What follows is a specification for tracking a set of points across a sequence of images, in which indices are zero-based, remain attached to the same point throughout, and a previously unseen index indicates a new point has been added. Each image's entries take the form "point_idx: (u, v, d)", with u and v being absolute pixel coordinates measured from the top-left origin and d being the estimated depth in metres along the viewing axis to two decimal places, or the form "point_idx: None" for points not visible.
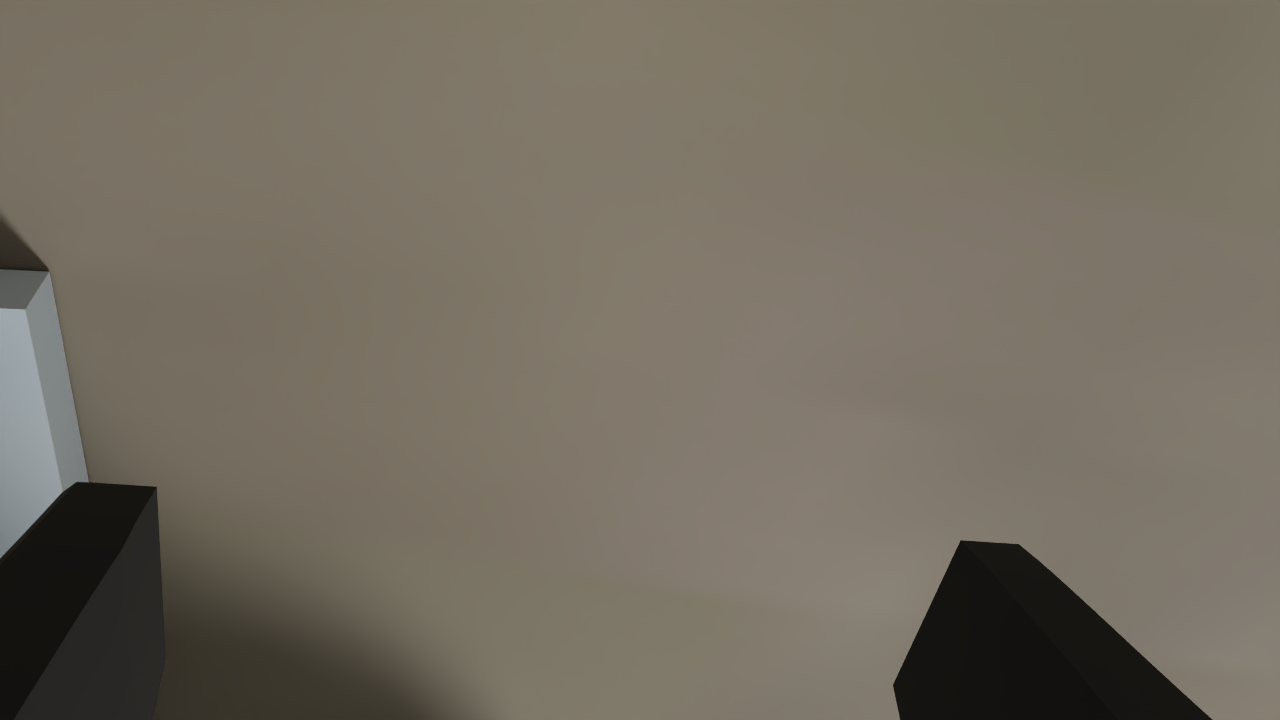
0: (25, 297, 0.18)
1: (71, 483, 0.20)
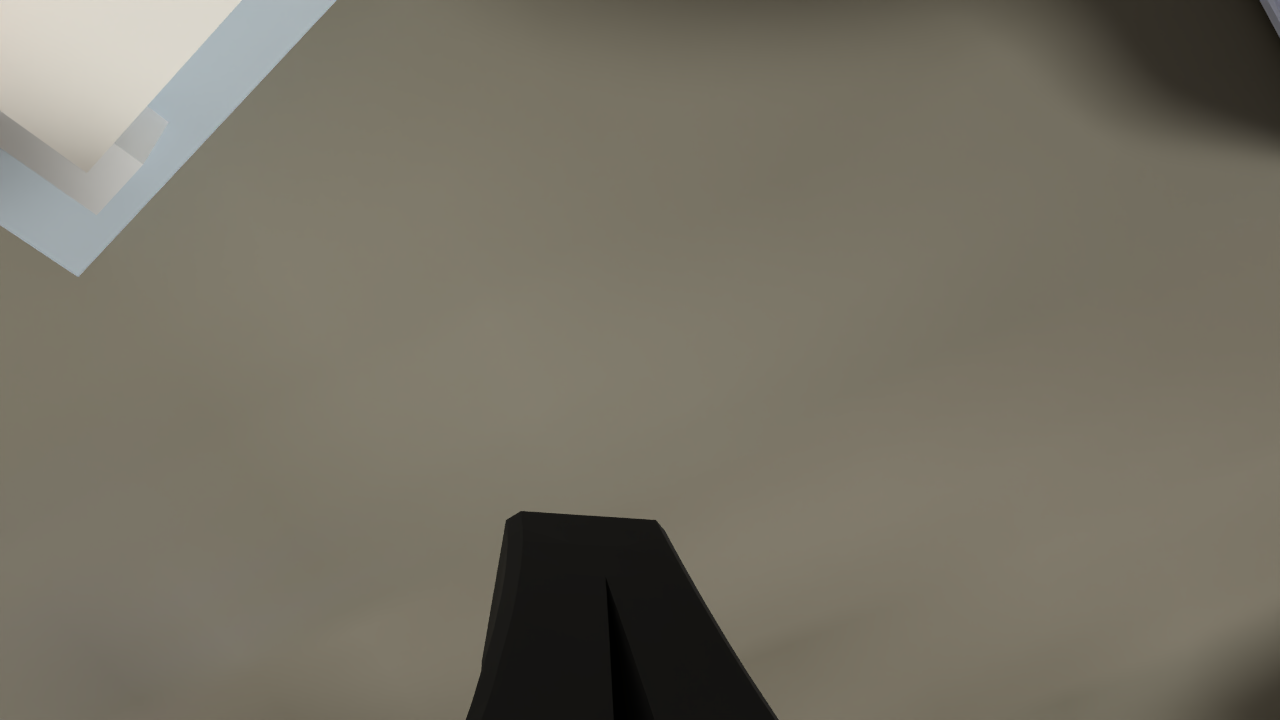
0: None
1: None
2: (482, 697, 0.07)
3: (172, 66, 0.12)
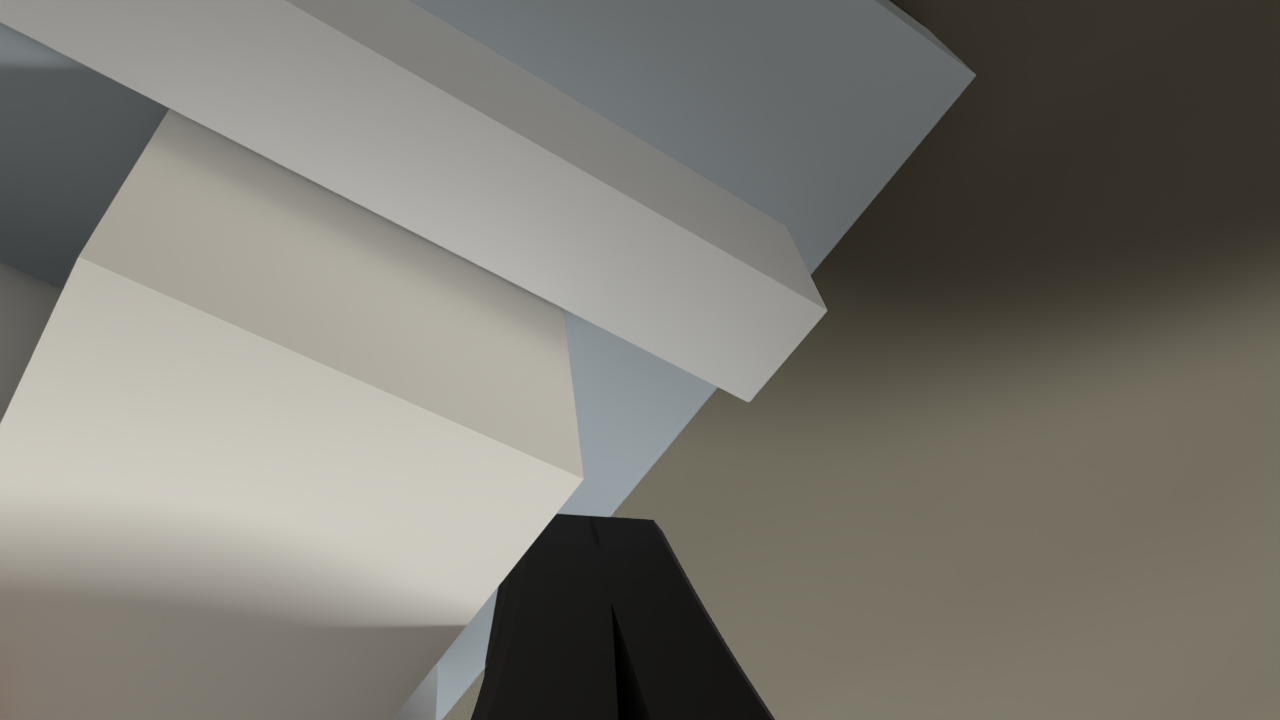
0: None
1: None
2: (487, 697, 0.07)
3: None
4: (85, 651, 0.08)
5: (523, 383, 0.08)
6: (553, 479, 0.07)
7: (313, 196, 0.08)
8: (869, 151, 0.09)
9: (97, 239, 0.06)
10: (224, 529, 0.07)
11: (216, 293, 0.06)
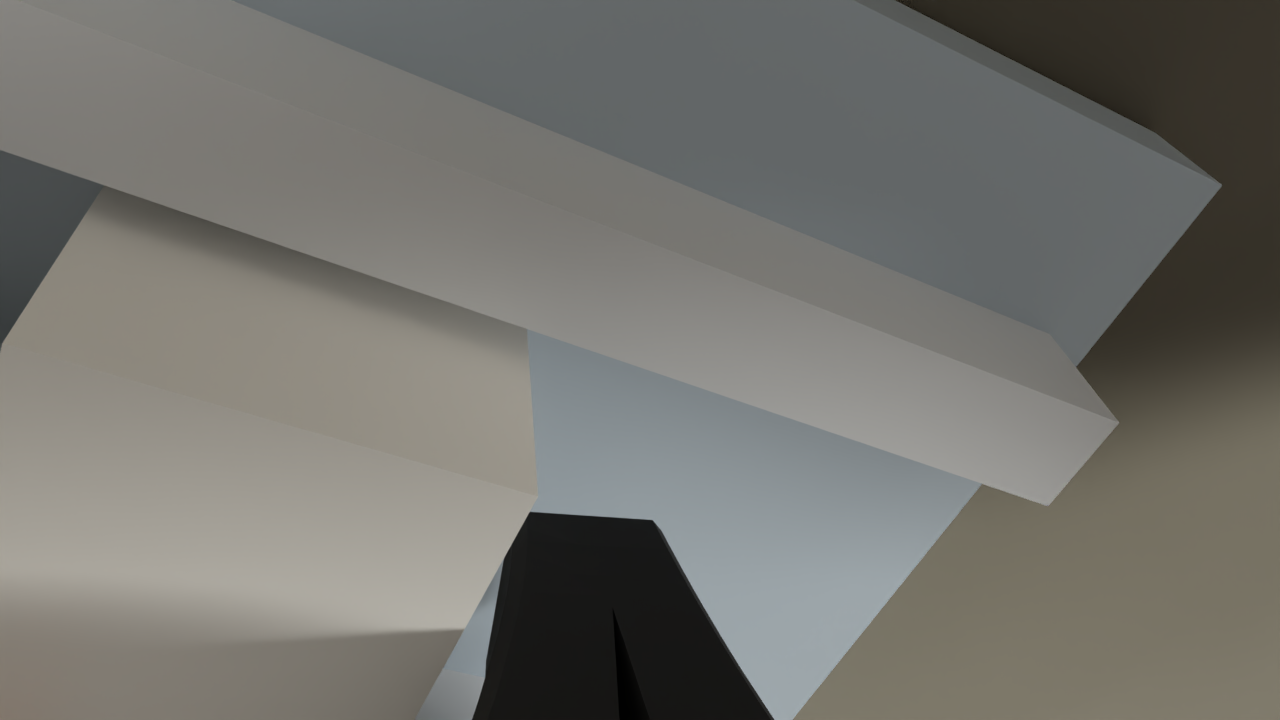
0: None
1: None
2: (488, 697, 0.07)
3: None
4: (92, 711, 0.08)
5: (474, 407, 0.08)
6: (508, 500, 0.07)
7: (257, 246, 0.08)
8: (1125, 262, 0.10)
9: (24, 323, 0.06)
10: (199, 581, 0.07)
11: (145, 360, 0.07)
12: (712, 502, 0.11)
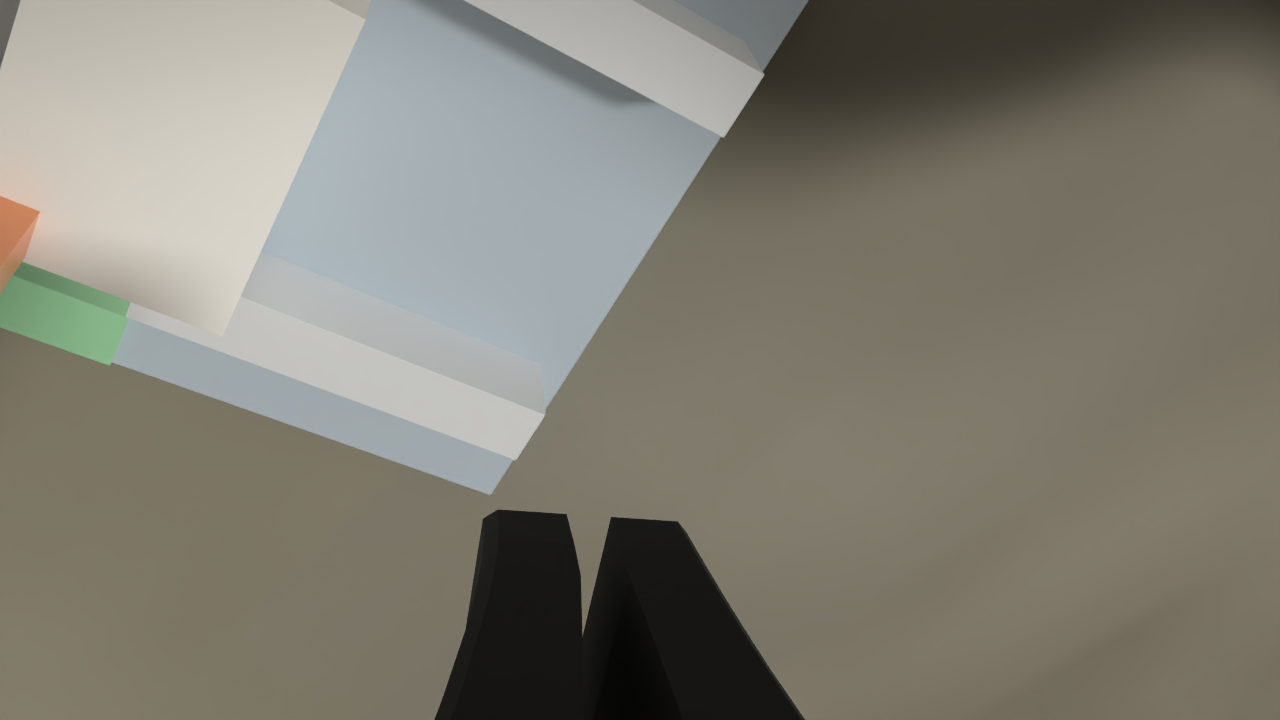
0: None
1: None
2: (451, 696, 0.07)
3: (264, 228, 0.13)
4: (86, 153, 0.13)
5: None
6: (347, 20, 0.12)
7: None
8: None
9: None
10: (159, 57, 0.12)
11: None
12: (515, 152, 0.16)
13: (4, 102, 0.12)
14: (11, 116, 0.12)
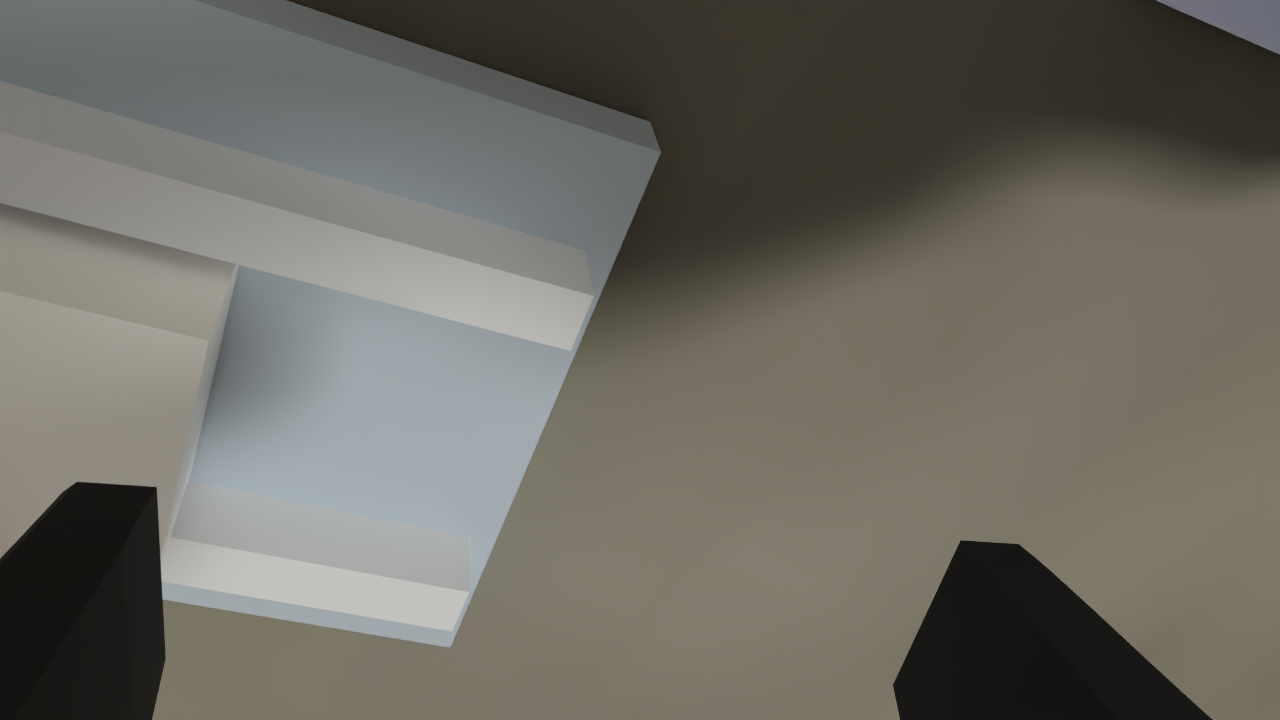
0: None
1: None
2: None
3: (166, 507, 0.16)
4: (2, 475, 0.15)
5: (185, 301, 0.15)
6: (193, 343, 0.14)
7: (73, 225, 0.15)
8: (617, 202, 0.17)
9: None
10: (44, 397, 0.14)
11: None
12: (402, 371, 0.18)
13: None
14: None
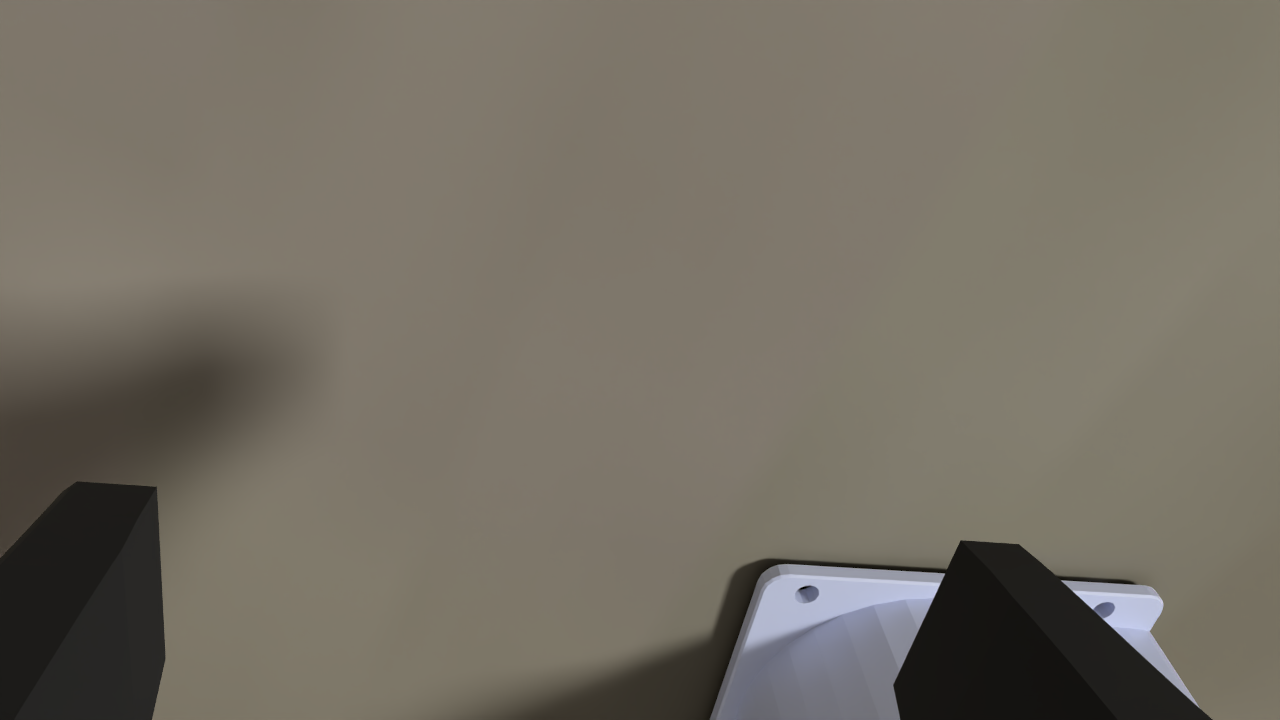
0: None
1: None
2: None
3: None
4: None
5: None
6: None
7: None
8: None
9: None
10: None
11: None
12: None
13: None
14: None
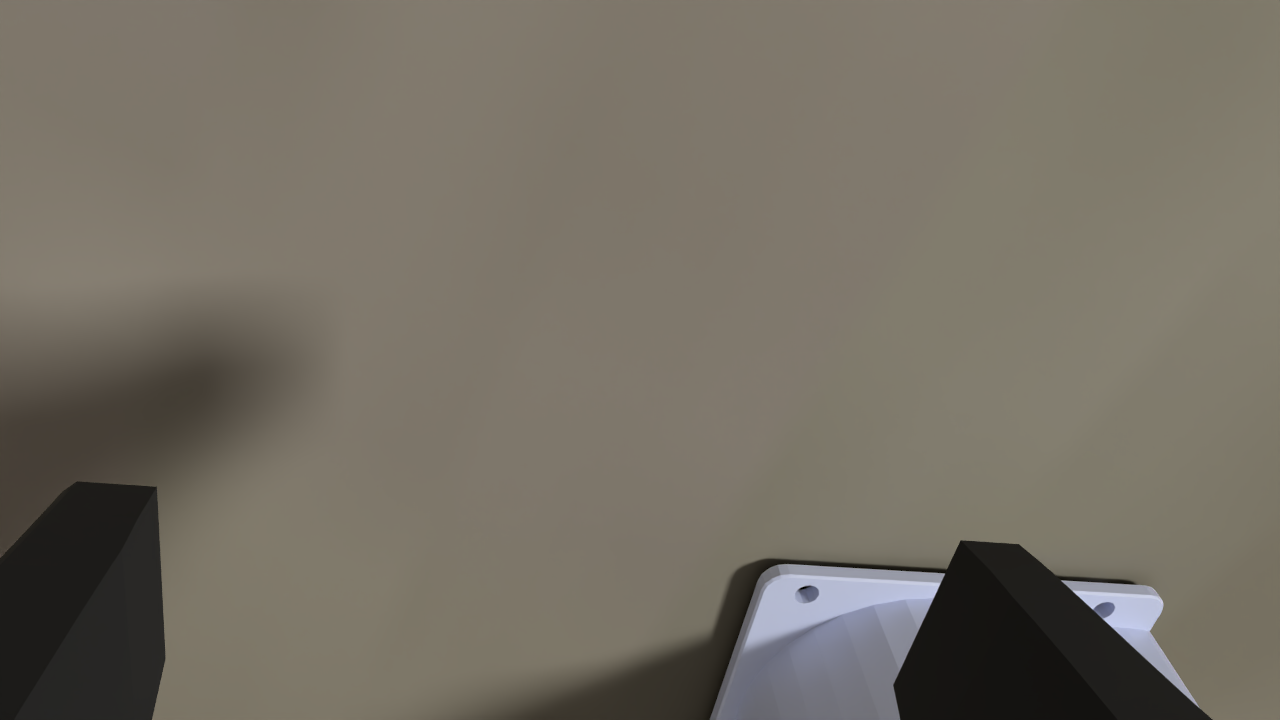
0: None
1: None
2: None
3: None
4: None
5: None
6: None
7: None
8: None
9: None
10: None
11: None
12: None
13: None
14: None
